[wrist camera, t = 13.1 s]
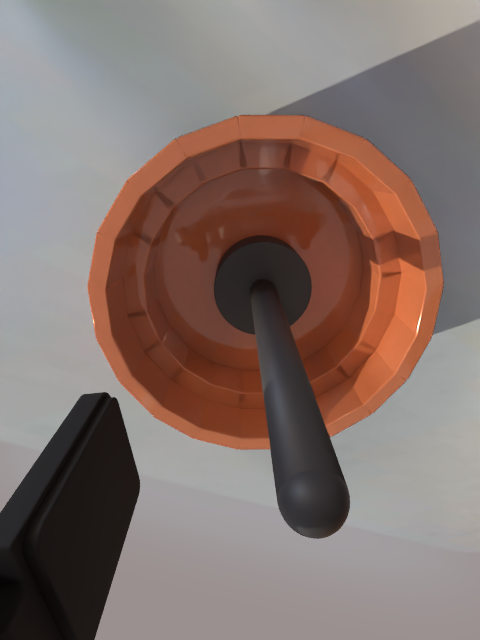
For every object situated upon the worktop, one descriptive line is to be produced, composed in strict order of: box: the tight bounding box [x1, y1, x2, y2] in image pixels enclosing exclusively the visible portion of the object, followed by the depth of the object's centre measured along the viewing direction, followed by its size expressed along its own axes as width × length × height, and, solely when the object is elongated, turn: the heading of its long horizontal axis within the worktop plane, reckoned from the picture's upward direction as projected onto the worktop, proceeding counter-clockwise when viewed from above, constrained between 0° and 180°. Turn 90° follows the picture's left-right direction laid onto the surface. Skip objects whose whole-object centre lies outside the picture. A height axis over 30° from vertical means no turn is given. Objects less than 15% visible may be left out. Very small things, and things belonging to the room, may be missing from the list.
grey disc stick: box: [214, 235, 350, 539], centre depth 14 cm, size 5×5×16 cm
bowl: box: [88, 115, 444, 450], centre depth 19 cm, size 16×16×6 cm
